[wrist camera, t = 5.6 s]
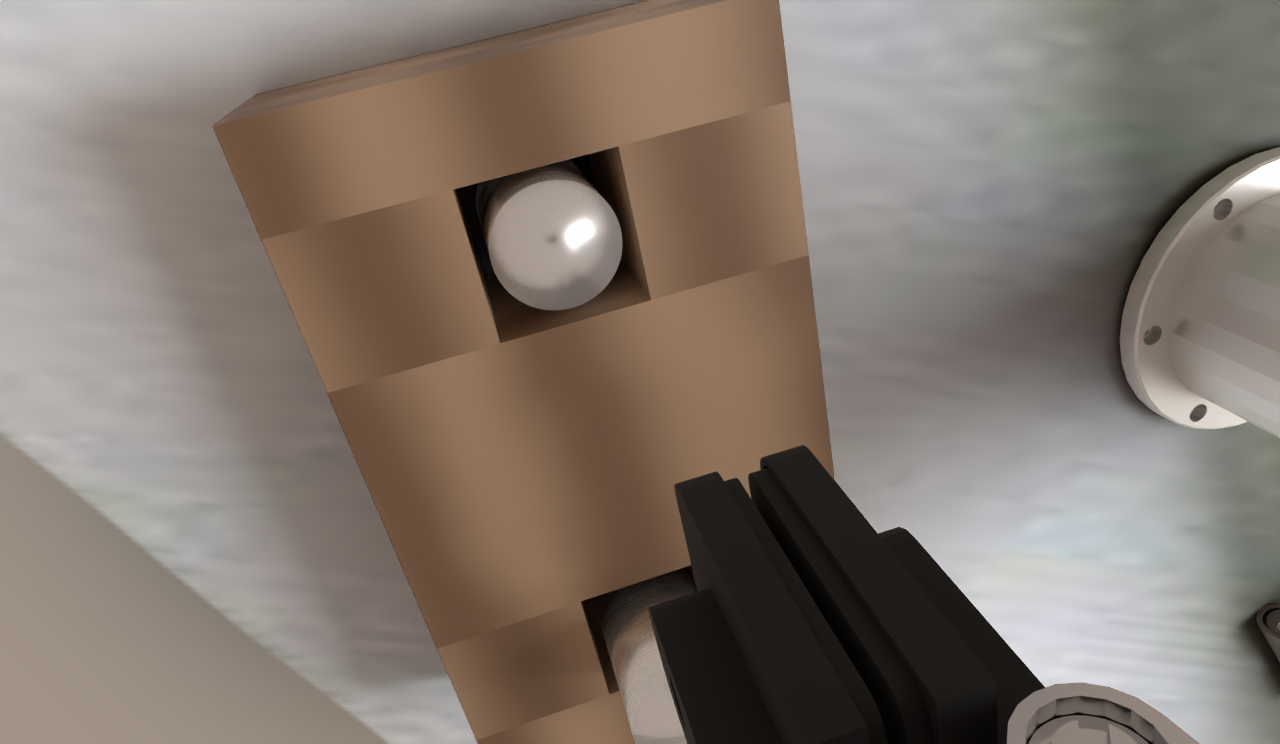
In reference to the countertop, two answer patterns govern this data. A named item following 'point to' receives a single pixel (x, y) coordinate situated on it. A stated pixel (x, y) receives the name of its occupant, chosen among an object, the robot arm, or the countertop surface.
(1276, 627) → the portable electronic device stand
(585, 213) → the front peg
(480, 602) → the walnut block
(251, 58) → the countertop surface
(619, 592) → the back peg
